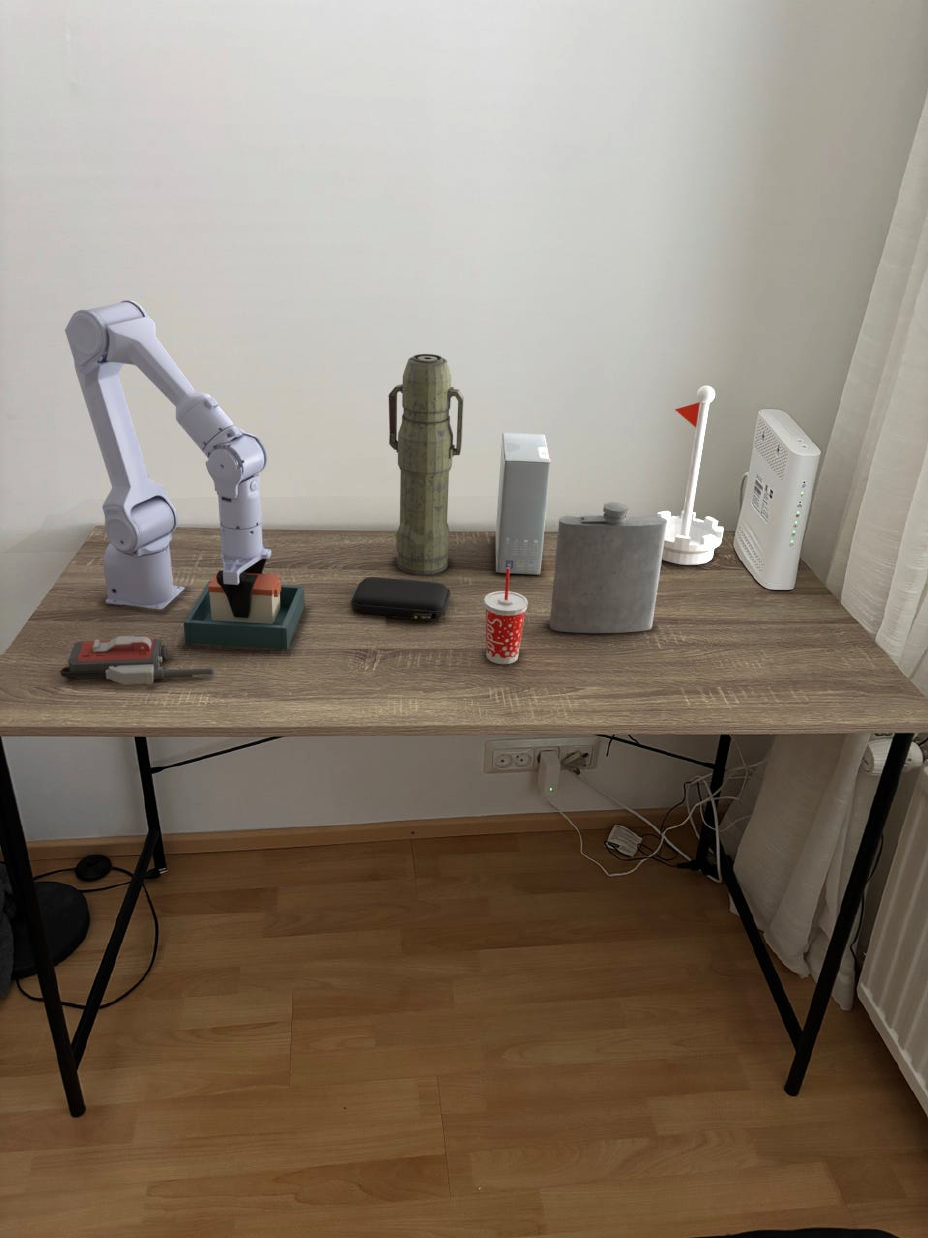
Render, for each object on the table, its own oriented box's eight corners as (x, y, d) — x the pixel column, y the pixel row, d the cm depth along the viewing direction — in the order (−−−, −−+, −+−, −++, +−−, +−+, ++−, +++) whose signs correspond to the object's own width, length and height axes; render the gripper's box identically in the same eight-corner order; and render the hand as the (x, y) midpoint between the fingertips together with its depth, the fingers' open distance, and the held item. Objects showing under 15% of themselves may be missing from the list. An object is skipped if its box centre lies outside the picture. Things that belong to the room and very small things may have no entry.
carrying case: (346, 620, 155) (443, 628, 154) (346, 602, 154) (443, 610, 152) (360, 589, 164) (451, 597, 163) (360, 572, 163) (452, 580, 162)
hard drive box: (541, 576, 172) (551, 463, 162) (495, 574, 172) (502, 460, 162) (536, 539, 185) (545, 432, 176) (494, 537, 185) (500, 430, 176)
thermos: (391, 550, 178) (392, 348, 162) (458, 555, 178) (467, 352, 161) (383, 572, 170) (384, 362, 154) (454, 577, 170) (463, 366, 154)
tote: (185, 647, 146) (183, 622, 144) (210, 603, 158) (208, 580, 156) (287, 653, 146) (286, 628, 144) (305, 609, 158) (304, 585, 156)
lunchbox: (207, 620, 149) (204, 586, 146) (217, 604, 153) (214, 570, 151) (276, 624, 148) (275, 590, 146) (284, 608, 153) (282, 574, 150)
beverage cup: (474, 649, 149) (478, 562, 142) (512, 642, 151) (518, 556, 144) (491, 670, 144) (497, 580, 137) (530, 662, 146) (538, 574, 140)
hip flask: (649, 620, 159) (666, 499, 150) (655, 633, 155) (673, 510, 146) (547, 621, 157) (558, 499, 148) (552, 634, 154) (564, 510, 144)
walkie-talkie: (58, 691, 134) (214, 684, 137) (53, 662, 132) (212, 656, 135) (70, 658, 142) (218, 652, 145) (65, 630, 140) (216, 624, 143)
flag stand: (731, 551, 184) (760, 386, 170) (698, 574, 175) (726, 401, 161) (666, 531, 191) (689, 371, 177) (631, 552, 182) (653, 385, 168)
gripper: (257, 544, 137) (262, 632, 144) (279, 504, 150) (283, 587, 157) (205, 541, 138) (212, 629, 144) (231, 501, 150) (237, 584, 157)
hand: (246, 607), depth 150 cm, fingers closed on lunchbox, 5 cm apart
